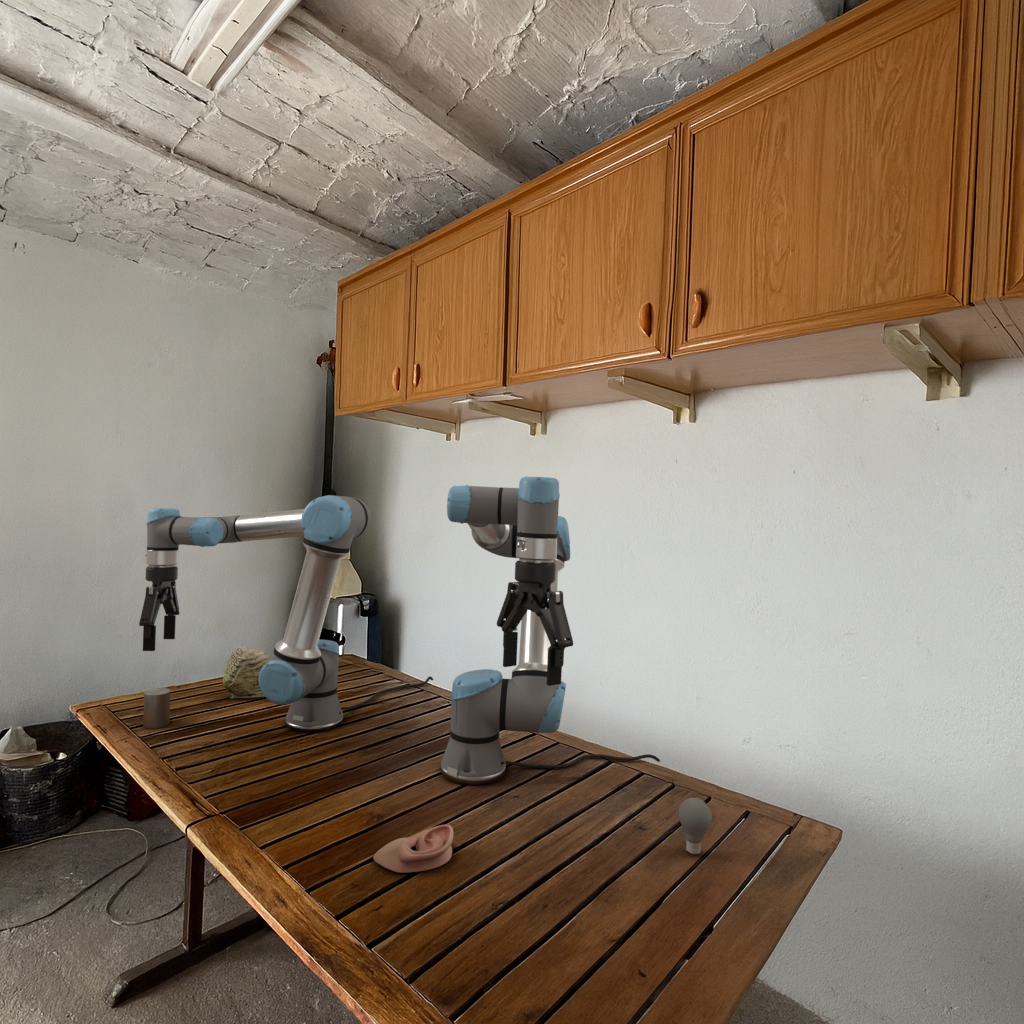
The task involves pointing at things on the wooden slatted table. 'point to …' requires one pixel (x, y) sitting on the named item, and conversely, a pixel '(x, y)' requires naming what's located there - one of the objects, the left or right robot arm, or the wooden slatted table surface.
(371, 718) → the wooden slatted table surface
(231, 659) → the fossil
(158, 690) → the can
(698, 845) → the light bulb
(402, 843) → the anatomical model
